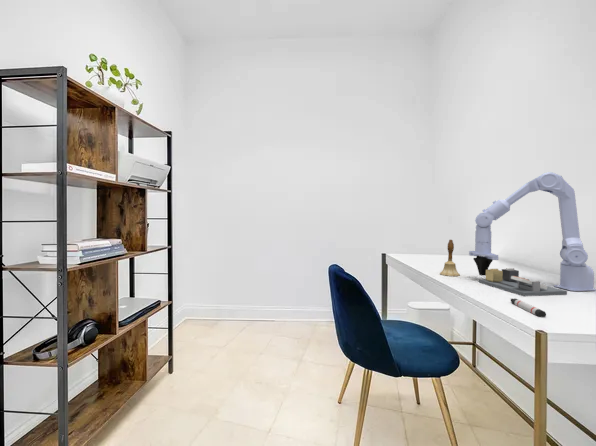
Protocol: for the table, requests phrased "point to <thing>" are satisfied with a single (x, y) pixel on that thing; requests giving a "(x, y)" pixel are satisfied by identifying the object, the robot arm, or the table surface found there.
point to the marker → (528, 307)
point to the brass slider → (494, 275)
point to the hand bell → (450, 262)
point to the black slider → (509, 274)
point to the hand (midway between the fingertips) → (482, 275)
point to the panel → (524, 288)
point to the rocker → (527, 281)
